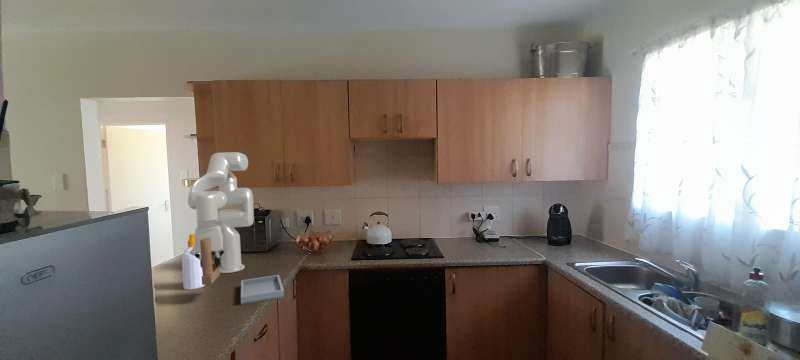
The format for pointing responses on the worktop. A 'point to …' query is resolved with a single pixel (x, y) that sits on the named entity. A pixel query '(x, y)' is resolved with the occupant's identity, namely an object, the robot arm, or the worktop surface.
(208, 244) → the wooden mallet
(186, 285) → the soap bottle
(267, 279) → the tray
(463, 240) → the worktop surface
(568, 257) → the worktop surface
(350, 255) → the worktop surface
